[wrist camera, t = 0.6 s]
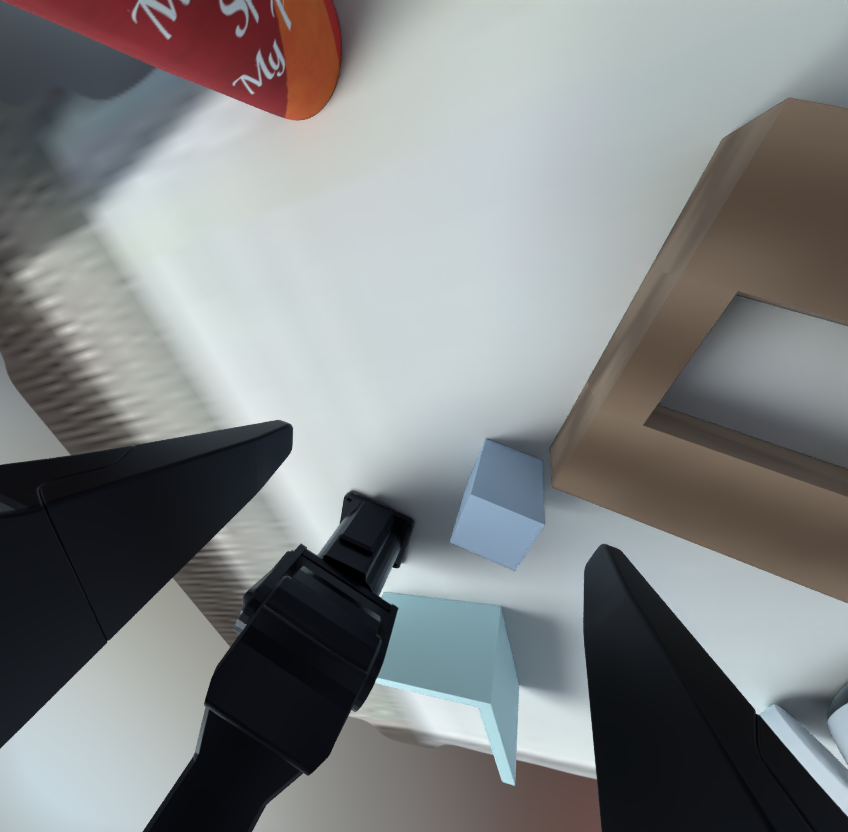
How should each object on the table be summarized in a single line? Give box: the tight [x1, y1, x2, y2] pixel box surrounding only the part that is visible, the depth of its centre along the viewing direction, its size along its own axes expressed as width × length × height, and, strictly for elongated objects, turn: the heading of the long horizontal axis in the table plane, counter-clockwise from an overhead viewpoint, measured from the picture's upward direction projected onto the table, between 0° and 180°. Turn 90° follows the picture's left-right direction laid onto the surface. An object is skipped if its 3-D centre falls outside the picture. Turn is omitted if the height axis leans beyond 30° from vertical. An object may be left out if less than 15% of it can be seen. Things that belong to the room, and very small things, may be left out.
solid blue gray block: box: [450, 439, 545, 571], centre depth 20 cm, size 4×4×6 cm
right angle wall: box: [375, 592, 519, 786], centre depth 30 cm, size 12×12×8 cm
